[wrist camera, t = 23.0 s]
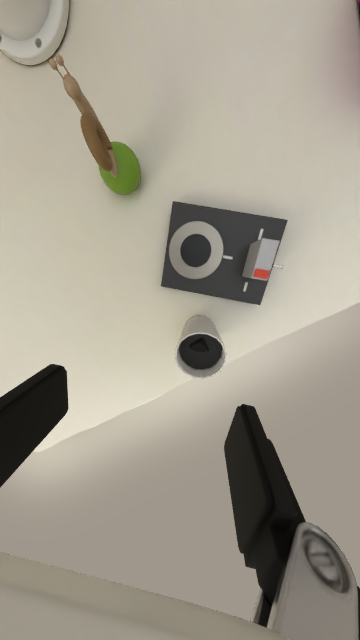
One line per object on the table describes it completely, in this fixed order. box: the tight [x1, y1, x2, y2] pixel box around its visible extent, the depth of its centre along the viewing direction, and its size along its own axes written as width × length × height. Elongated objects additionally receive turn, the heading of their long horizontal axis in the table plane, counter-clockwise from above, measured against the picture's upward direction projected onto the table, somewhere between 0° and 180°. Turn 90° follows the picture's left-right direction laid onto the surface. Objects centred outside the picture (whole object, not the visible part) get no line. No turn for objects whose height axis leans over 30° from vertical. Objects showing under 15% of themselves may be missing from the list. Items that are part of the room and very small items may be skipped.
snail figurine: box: [49, 54, 141, 195], centre depth 20 cm, size 5×6×12 cm
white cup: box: [175, 315, 227, 378], centre depth 27 cm, size 7×7×10 cm
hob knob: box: [242, 238, 280, 281], centre depth 23 cm, size 5×2×5 cm, turn 171°
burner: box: [169, 221, 224, 279], centre depth 25 cm, size 8×8×2 cm
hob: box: [161, 201, 287, 305], centre depth 27 cm, size 17×12×3 cm
